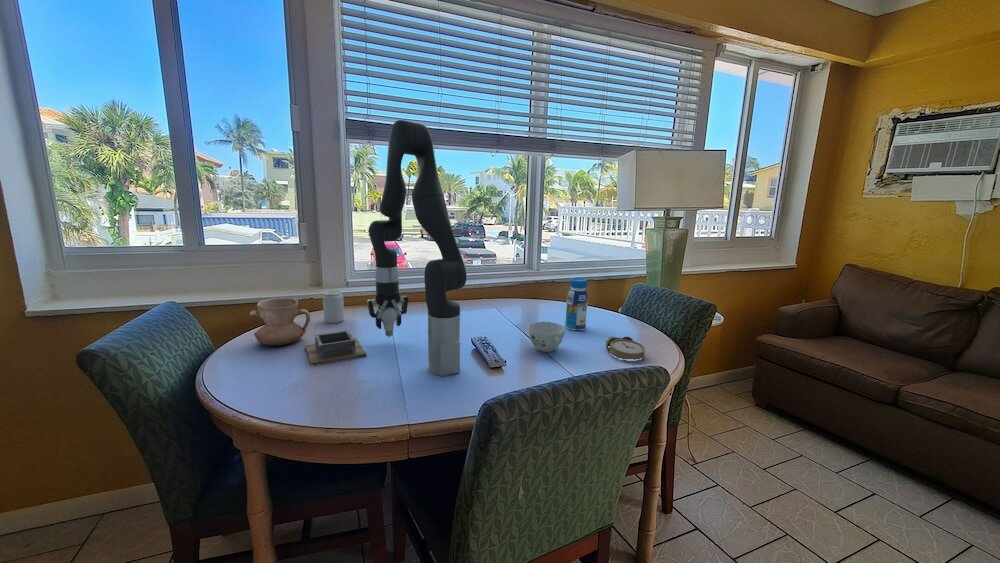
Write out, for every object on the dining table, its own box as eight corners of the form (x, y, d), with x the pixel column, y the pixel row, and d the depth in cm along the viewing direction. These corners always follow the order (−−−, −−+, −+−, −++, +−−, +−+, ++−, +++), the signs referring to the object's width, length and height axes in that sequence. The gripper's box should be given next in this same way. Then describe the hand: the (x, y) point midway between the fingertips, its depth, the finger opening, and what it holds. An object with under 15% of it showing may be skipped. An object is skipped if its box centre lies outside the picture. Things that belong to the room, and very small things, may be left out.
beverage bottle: (564, 323, 166) (567, 276, 162) (585, 325, 165) (588, 277, 160) (564, 330, 158) (568, 280, 153) (586, 332, 156) (590, 282, 152)
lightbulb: (400, 334, 143) (399, 304, 140) (394, 340, 137) (393, 308, 134) (384, 333, 143) (382, 303, 141) (377, 339, 137) (375, 308, 135)
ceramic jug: (246, 351, 128) (243, 309, 125) (258, 335, 142) (255, 297, 139) (308, 347, 134) (306, 306, 131) (313, 333, 147) (312, 295, 144)
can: (320, 323, 158) (318, 293, 155) (331, 317, 165) (329, 289, 162) (337, 324, 157) (336, 294, 154) (348, 319, 164) (346, 290, 161)
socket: (366, 356, 127) (365, 341, 126) (311, 366, 119) (310, 350, 118) (355, 340, 141) (355, 326, 140) (305, 348, 132) (304, 333, 131)
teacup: (521, 344, 142) (522, 322, 140) (553, 341, 146) (554, 320, 144) (539, 360, 128) (540, 337, 126) (574, 356, 132) (575, 333, 130)
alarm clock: (620, 355, 127) (600, 331, 141) (617, 368, 129) (598, 343, 143) (652, 353, 130) (629, 330, 143) (649, 366, 131) (627, 342, 145)
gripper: (368, 283, 129) (370, 333, 132) (411, 279, 136) (412, 327, 140) (362, 279, 135) (365, 327, 139) (404, 276, 143) (405, 321, 146)
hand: (388, 326), depth 139 cm, fingers closed on lightbulb, 6 cm apart
